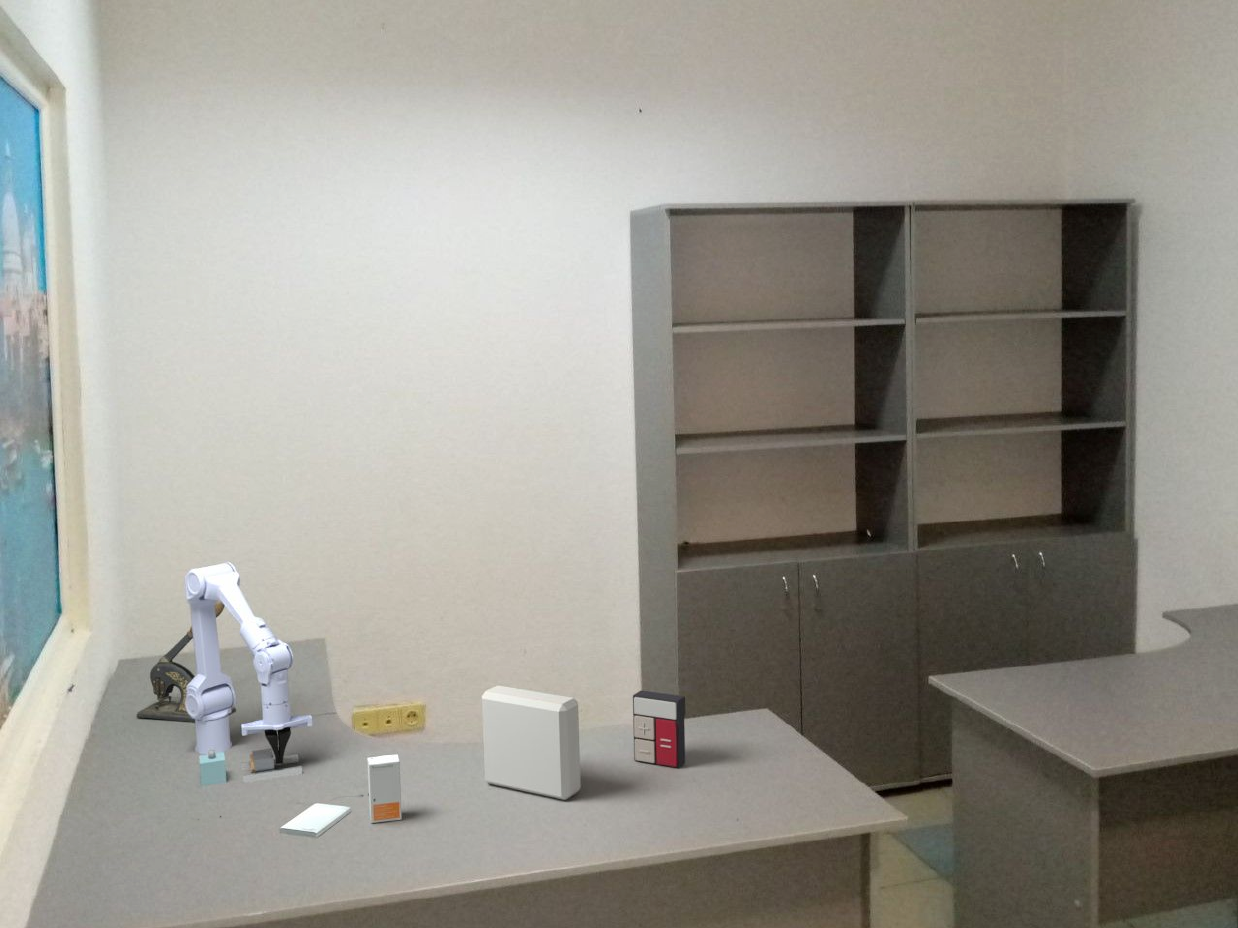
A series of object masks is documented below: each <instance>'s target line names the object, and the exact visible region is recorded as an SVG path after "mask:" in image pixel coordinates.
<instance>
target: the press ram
mask: <svg viewBox="0 0 1238 928" xmlns="http://www.w3.org/2000/svg"><path fill="white" fill-rule="evenodd" d="M274 758H275V756H274V752H273V750H272V747H270V748H264V749H258V750H252V751H251V754H249V761H250V769H249V770H250V774H251V773H257V772H264V771H271V770H275V765H274Z"/></svg>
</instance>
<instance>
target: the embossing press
mask: <svg viewBox="0 0 1238 928" xmlns="http://www.w3.org/2000/svg"><path fill="white" fill-rule="evenodd" d="M225 608H226V606H225V605H224V604H223V603H222V601H217V602H216V603H215V614H216V619H217V618H218V617H220V615H221V614H222V612H223V611H224V610H225ZM191 640H193V632H192V625H191V626H190V628H189V630H188V631H187V632H186V634H185V635H184V636H183V637H182V638H181V639H180V640H179V641H178V642H177V643H176V644H174V646H173V647H172V648H170V650H169V651H168V652H167V653H166V654H164V655H163V656H162V657H161V658H160V659H159V660H158V662H157V663H156V664H155V665H154V666H153V667H152V668H151V670H150V672H149V677H150V682H151V685H152V689H153V690H152V691H153V694H154V695H156V696H157V697H156V698H157V702H154V703H152V704H150V705H149V706H147V707H145V708H143V709H141V710H139V711H137V713H136V717H137V718H143V719H155V720H168V721H176V722H177V721H179V722H190V723H195V719H193V718H192V717H191V716H190V715H189V714H188V712H187V710H186V706H185V700H186V695H187V688H186V686H187V685H188V684H189V683H190V682H191V681H192V679H193V678H194V677H195V676H196V675H194V673H193V672H192V671H191V670H190V669H189V668H187V667H186V666H184V665H182V664H180V663H178V662H176V661H173V660H174V659H175V657H177V655H179V653H180V652H181V651H183V650H184V648H185V647H186V646H187V645H188V644H189V643H190V642H191ZM175 687H176V688H178V690H179V692H180V700H179V701H173V700H172V698H173V697H172V696H171V695H170V694H172V693H173V691H174V688H175ZM236 712H237V708H236V706H234V707H233V708H231V713H229V716H231V715H232V714H234V713H236Z"/></svg>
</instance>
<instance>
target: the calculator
mask: <svg viewBox="0 0 1238 928" xmlns="http://www.w3.org/2000/svg"><path fill="white" fill-rule="evenodd" d="M685 716H686V697H685V696H684V695H679V694H671V693H662V692H655V691H649V690H642V689H641V690H639V691H638V692H636V693H634V694H633V695H632V718H633V720H632V722H633V724H632V725H633V756H634V757H633V759H634V761H635V762H638V763H645V764H652V765H657V766H663V767H670V768H674V769H680V768H681V767H682V766H684V765H685V764H686V748H685V747H686V743H685V741H686V739H685V736H686V733H685Z"/></svg>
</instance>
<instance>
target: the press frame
mask: <svg viewBox="0 0 1238 928" xmlns="http://www.w3.org/2000/svg"><path fill="white" fill-rule="evenodd" d="M292 763H299V754H297V753H296V754H290V755H285V756H284V757H283V763H282V764H276V759H275V757H274V766H279V765H287V764H292ZM240 770H241V771H245V770H251V769H250V760H248V761H244V762H243V761H242V762H240ZM297 775H303V766H302V765H299V766H292V767H287V768H277V769H274V770H271V771H264V772H257V773H251V772H250V773H245V774H242V782H243V783H250V782H257V781H264V780H270V779H276V778H283V777H284V778H285V777H289V776H297Z"/></svg>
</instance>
